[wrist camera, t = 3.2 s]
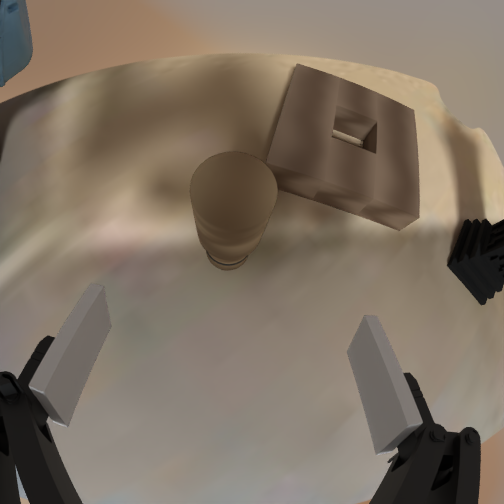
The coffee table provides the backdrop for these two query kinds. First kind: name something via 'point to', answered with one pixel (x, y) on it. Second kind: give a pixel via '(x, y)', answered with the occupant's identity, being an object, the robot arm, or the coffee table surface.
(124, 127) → the coffee table surface
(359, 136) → the walnut board
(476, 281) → the chess piece
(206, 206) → the oak peg
